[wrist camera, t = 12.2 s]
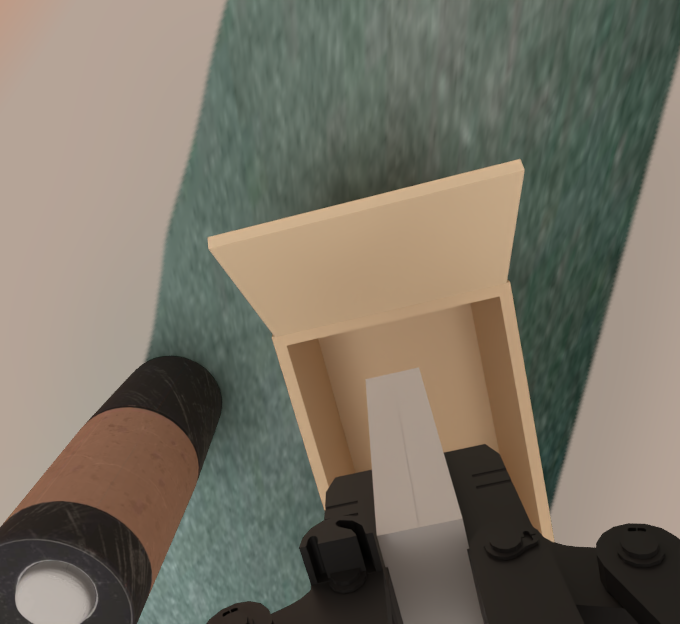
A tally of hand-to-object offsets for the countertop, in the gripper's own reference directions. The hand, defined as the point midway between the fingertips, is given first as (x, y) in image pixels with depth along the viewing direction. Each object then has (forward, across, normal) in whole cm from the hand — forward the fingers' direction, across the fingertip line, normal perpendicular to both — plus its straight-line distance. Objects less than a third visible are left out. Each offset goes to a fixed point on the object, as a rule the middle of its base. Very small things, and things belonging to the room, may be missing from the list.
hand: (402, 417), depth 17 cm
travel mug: (+26, +17, +8) cm, 32 cm away
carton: (+26, 0, +10) cm, 27 cm away
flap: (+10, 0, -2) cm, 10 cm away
